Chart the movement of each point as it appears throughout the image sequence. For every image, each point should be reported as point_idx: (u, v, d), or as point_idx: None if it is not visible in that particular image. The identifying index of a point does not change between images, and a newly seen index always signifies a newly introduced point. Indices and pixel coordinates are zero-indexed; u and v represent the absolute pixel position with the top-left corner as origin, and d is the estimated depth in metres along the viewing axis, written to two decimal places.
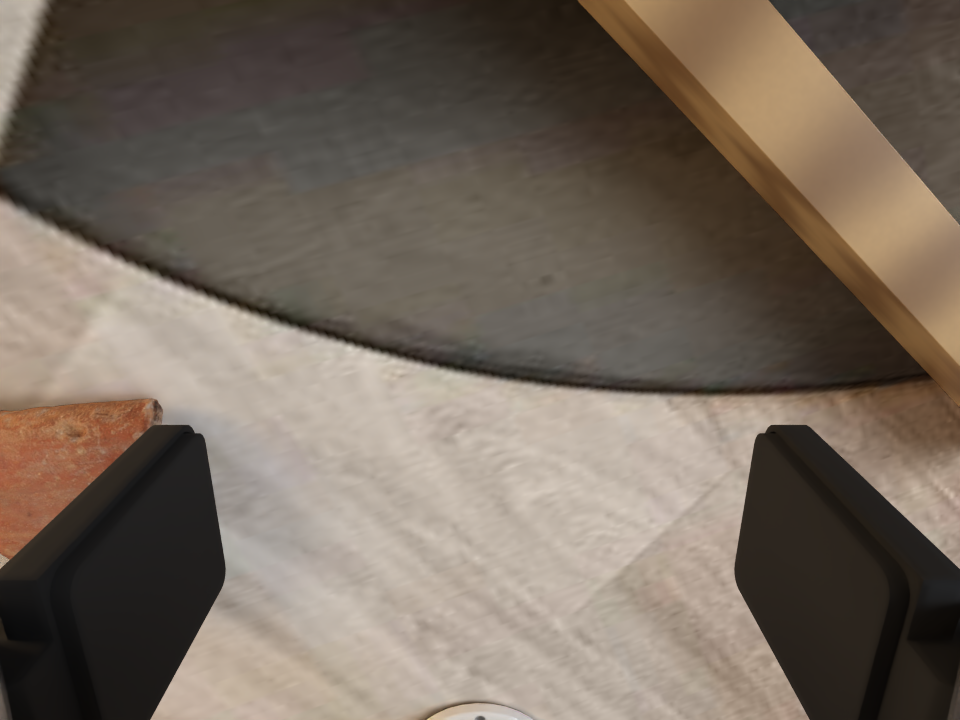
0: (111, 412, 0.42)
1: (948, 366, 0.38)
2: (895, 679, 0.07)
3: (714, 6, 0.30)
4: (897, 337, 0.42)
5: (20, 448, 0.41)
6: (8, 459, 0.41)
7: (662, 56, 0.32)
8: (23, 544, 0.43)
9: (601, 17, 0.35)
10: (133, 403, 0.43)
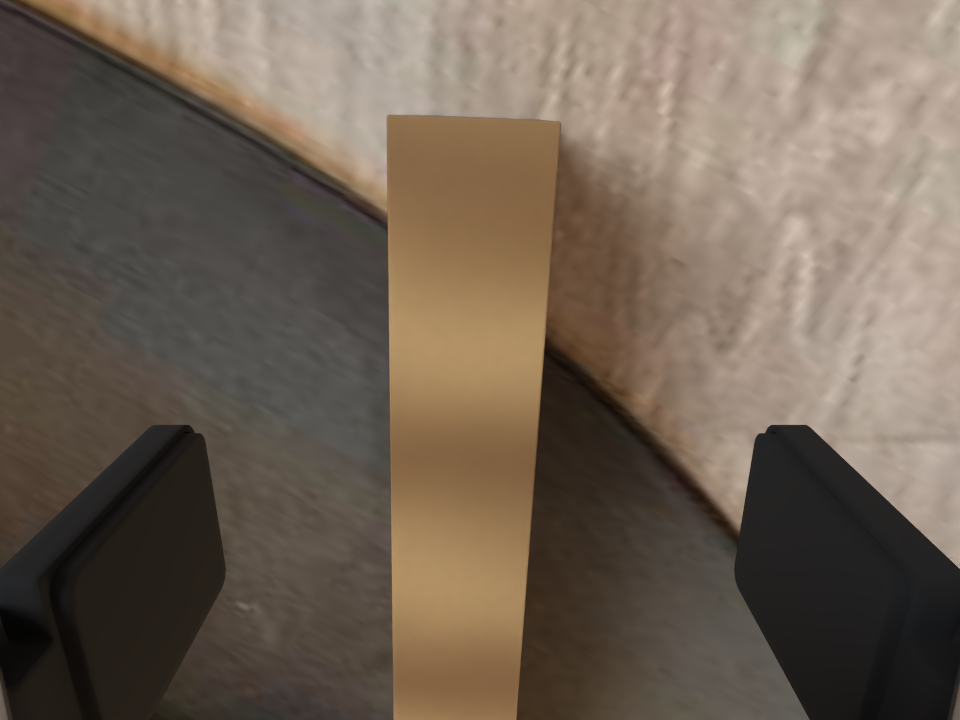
0: None
1: None
2: (895, 679, 0.07)
3: None
4: None
5: None
6: None
7: None
8: None
9: None
10: None
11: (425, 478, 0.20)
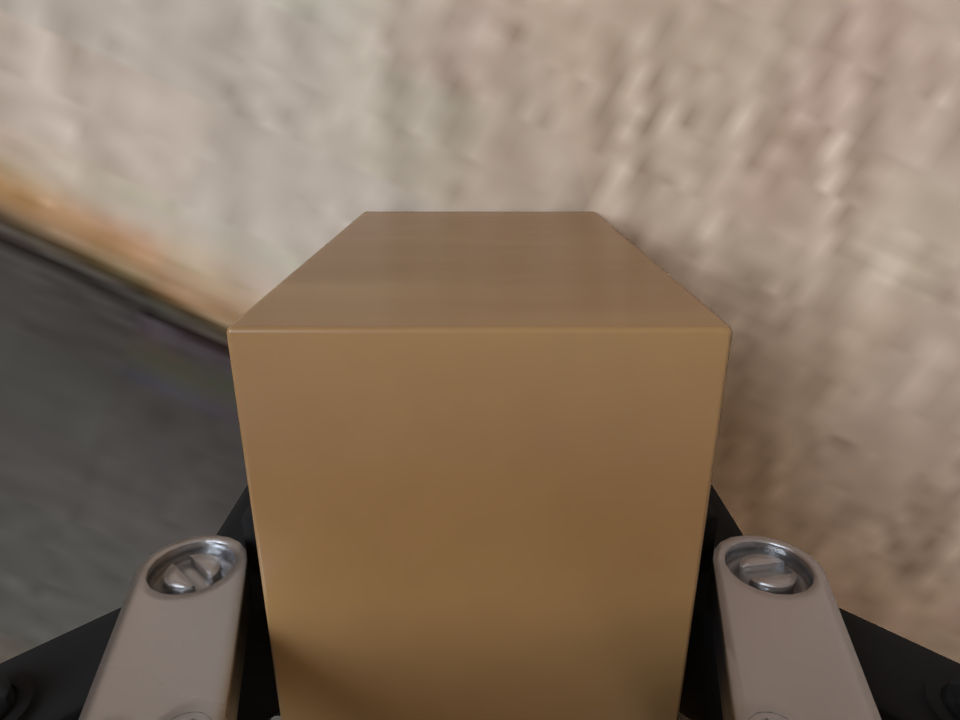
0: None
1: None
2: None
3: None
4: None
5: None
6: None
7: None
8: None
9: None
10: None
11: None
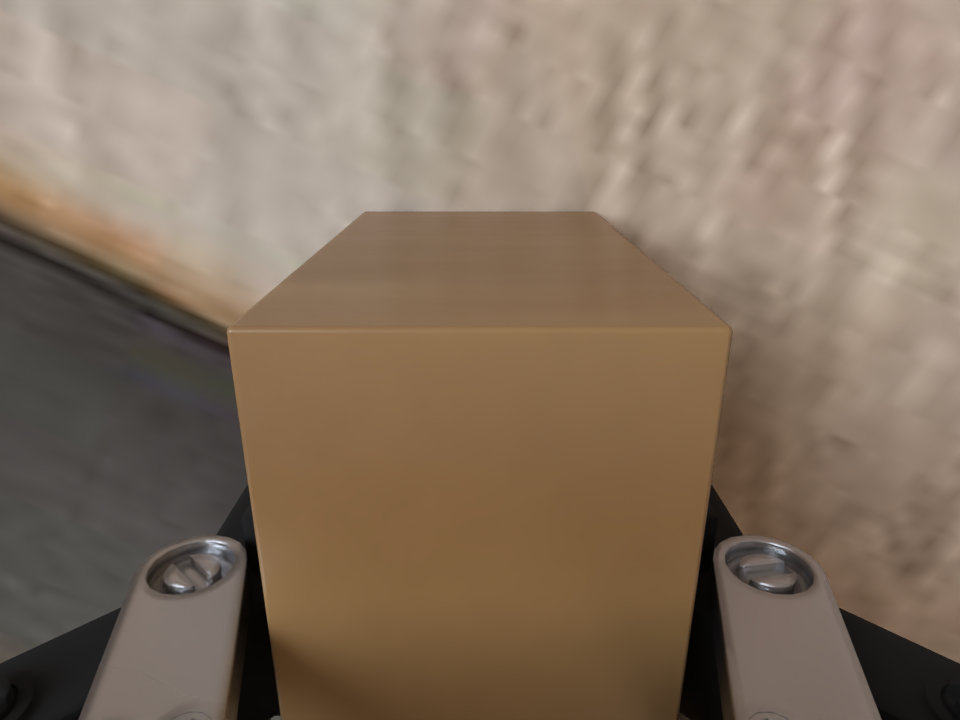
0: None
1: None
2: None
3: None
4: None
5: None
6: None
7: None
8: None
9: None
10: None
11: None
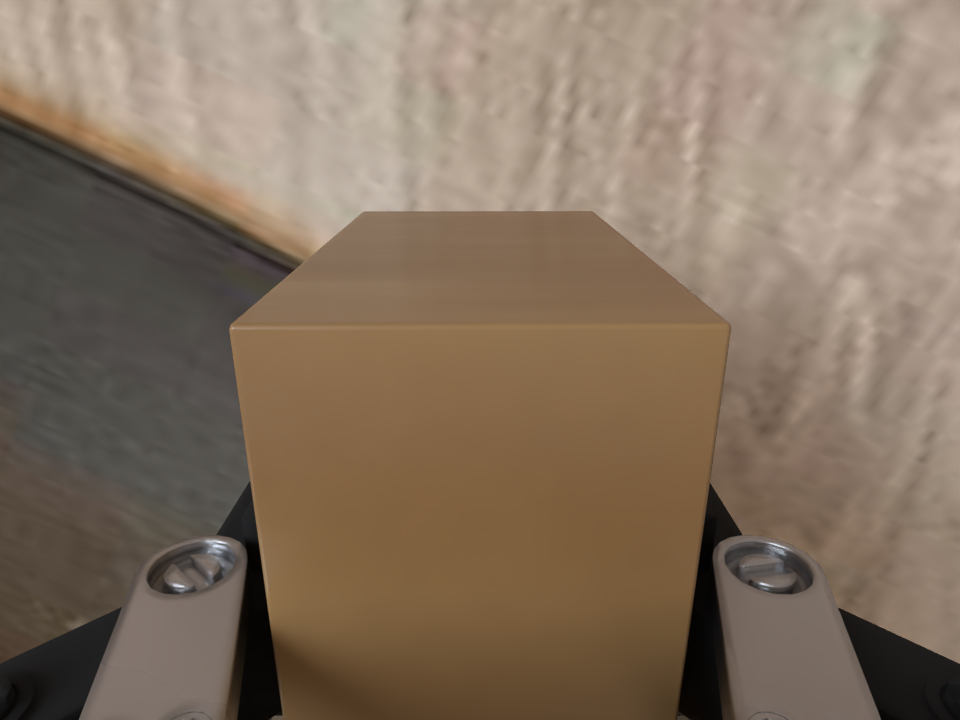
0: None
1: None
2: None
3: None
4: None
5: None
6: None
7: None
8: None
9: None
10: None
11: None
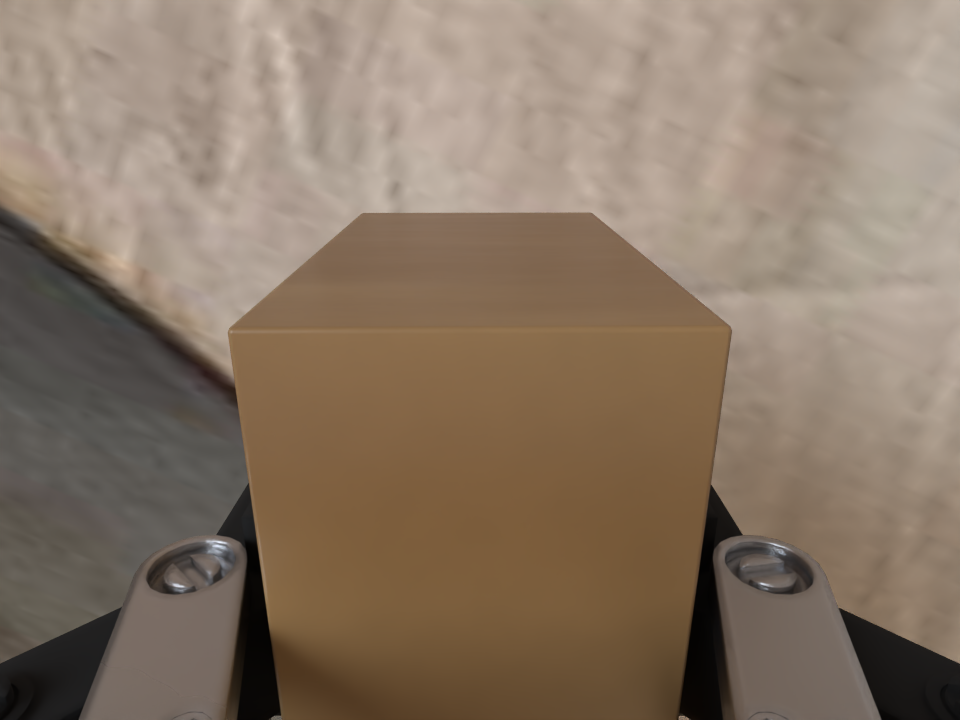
0: None
1: None
2: None
3: None
4: None
5: None
6: None
7: None
8: None
9: None
10: None
11: None
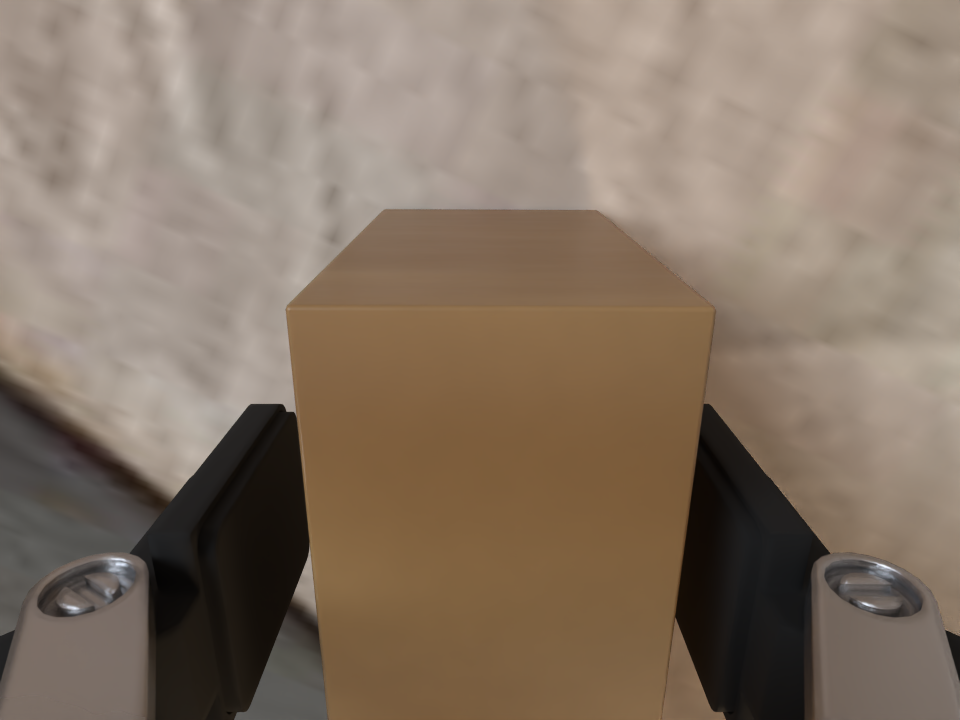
0: None
1: None
2: (753, 626, 0.08)
3: None
4: None
5: None
6: None
7: None
8: None
9: None
10: None
11: None
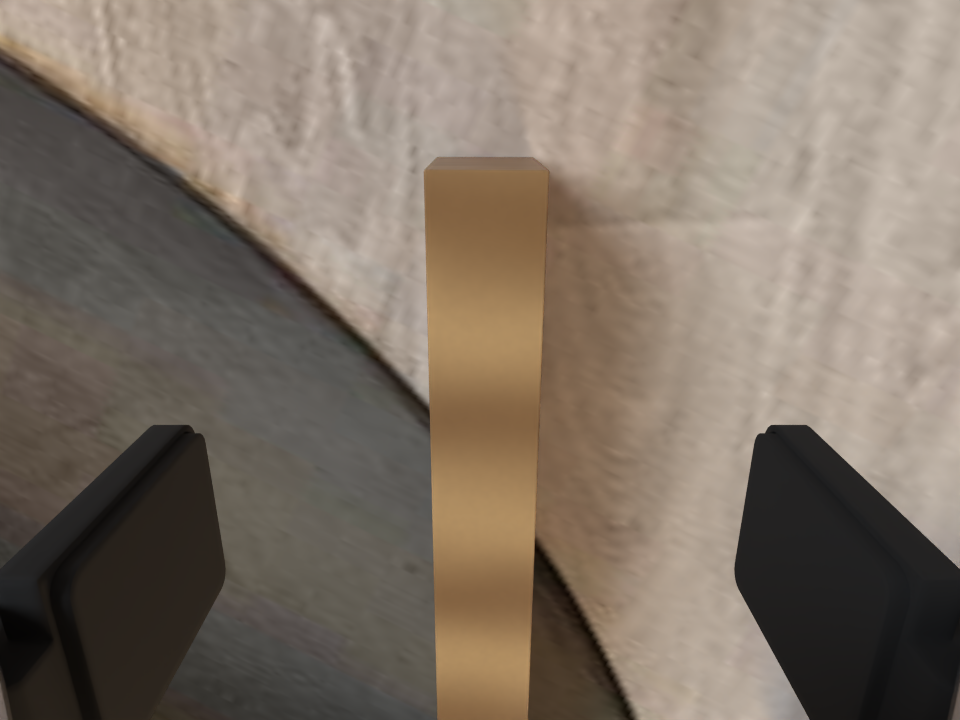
0: None
1: None
2: (895, 679, 0.07)
3: None
4: None
5: None
6: None
7: None
8: None
9: None
10: None
11: (457, 435, 0.27)
